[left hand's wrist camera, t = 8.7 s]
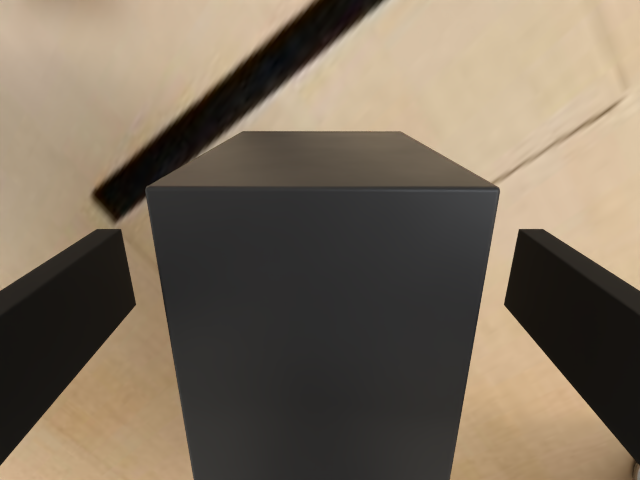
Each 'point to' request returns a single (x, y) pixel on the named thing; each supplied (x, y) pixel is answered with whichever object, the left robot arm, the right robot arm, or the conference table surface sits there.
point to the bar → (322, 303)
